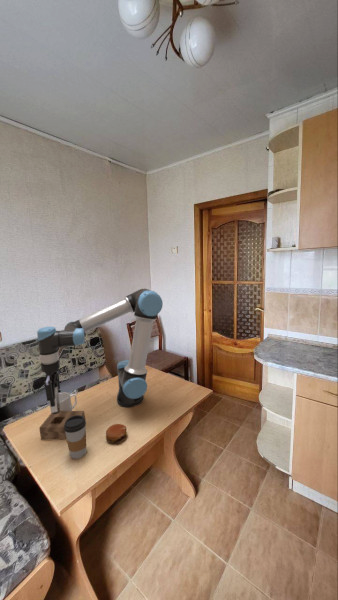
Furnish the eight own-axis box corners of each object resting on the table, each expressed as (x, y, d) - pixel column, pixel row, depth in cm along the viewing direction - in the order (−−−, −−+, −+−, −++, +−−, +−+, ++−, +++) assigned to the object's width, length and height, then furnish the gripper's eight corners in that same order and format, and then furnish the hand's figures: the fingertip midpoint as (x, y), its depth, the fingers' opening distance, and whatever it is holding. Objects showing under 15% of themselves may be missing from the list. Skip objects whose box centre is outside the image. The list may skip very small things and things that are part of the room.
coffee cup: (71, 447, 107) (67, 415, 104) (90, 445, 107) (87, 413, 105) (64, 462, 98) (60, 428, 96) (86, 460, 99) (82, 426, 97)
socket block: (85, 421, 123) (84, 410, 122) (75, 438, 112) (74, 426, 111) (54, 422, 124) (52, 411, 123) (41, 439, 112) (39, 427, 111)
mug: (57, 424, 122) (55, 403, 121) (51, 416, 129) (48, 397, 127) (81, 413, 130) (78, 394, 129) (74, 407, 137) (72, 388, 135)
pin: (61, 409, 117) (58, 386, 115) (57, 414, 113) (54, 390, 112) (54, 409, 117) (51, 386, 115) (50, 414, 114) (47, 390, 112)
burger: (103, 434, 114) (102, 425, 113) (123, 427, 118) (122, 418, 117) (109, 448, 105) (108, 438, 104) (130, 440, 109) (129, 431, 108)
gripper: (47, 355, 119) (53, 400, 123) (33, 369, 103) (40, 421, 106) (63, 353, 120) (68, 398, 124) (52, 368, 104) (58, 419, 107)
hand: (55, 409), depth 115 cm, fingers closed on pin, 3 cm apart
